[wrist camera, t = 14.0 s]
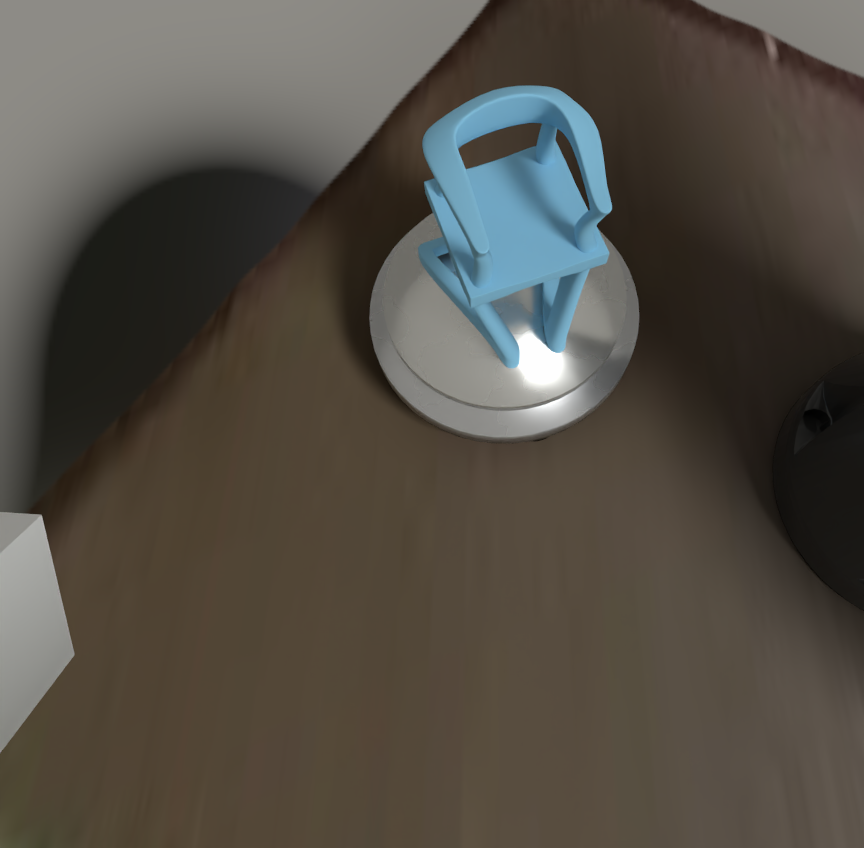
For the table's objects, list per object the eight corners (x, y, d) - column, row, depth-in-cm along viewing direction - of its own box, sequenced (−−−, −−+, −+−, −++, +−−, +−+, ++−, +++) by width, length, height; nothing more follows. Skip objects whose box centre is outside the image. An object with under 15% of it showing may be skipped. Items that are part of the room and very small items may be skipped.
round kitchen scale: (574, 198, 48) (584, 145, 43) (669, 407, 43) (692, 373, 38) (349, 268, 47) (333, 222, 43) (418, 488, 42) (410, 463, 38)
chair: (466, 385, 39) (460, 263, 27) (416, 253, 41) (392, 93, 30) (606, 338, 39) (658, 199, 28) (548, 210, 42) (573, 36, 30)
